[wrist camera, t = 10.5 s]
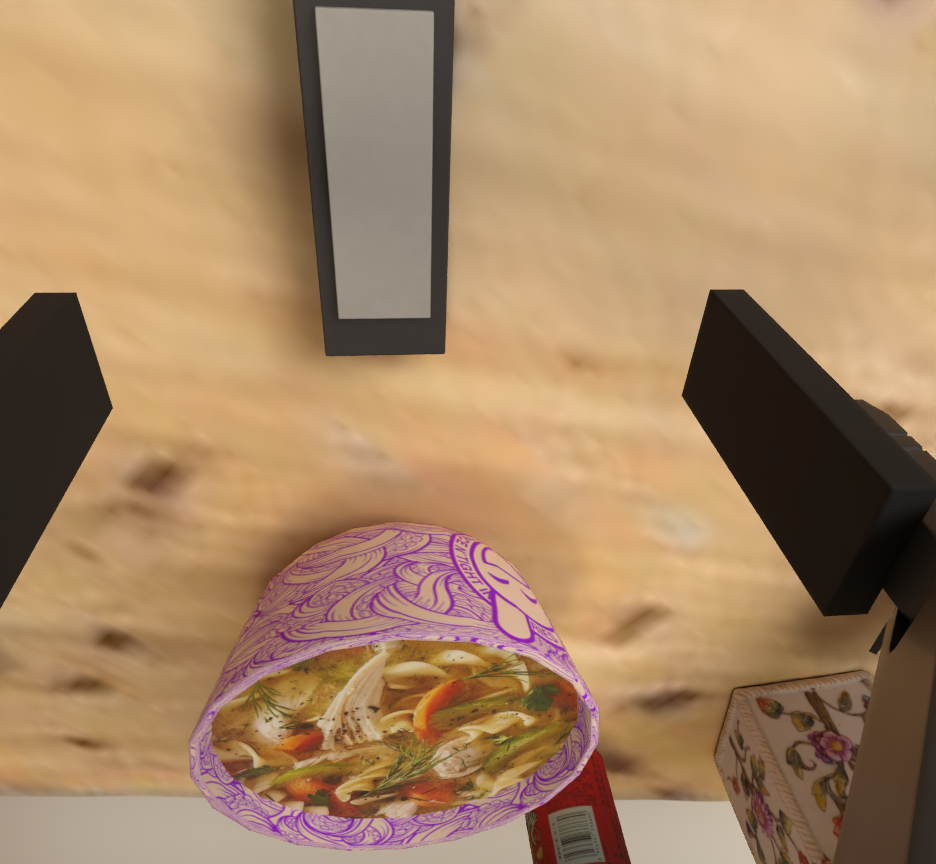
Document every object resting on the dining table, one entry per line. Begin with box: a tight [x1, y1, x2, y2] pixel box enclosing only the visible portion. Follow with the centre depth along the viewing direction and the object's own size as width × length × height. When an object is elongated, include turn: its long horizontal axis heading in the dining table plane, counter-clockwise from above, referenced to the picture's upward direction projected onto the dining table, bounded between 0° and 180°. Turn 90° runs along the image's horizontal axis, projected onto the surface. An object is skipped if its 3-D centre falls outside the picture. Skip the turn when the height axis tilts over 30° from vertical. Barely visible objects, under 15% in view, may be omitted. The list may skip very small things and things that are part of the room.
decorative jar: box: [714, 671, 874, 864], centre depth 51 cm, size 12×12×18 cm
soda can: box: [525, 748, 631, 864], centre depth 53 cm, size 7×7×12 cm
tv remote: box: [293, 0, 455, 356], centre depth 26 cm, size 17×5×3 cm, turn 178°
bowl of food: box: [189, 522, 599, 851], centre depth 38 cm, size 20×20×12 cm
